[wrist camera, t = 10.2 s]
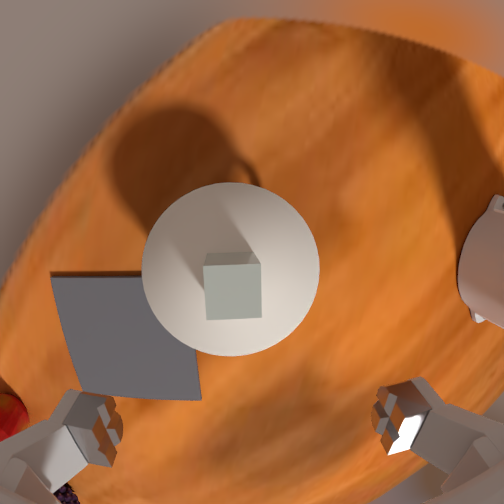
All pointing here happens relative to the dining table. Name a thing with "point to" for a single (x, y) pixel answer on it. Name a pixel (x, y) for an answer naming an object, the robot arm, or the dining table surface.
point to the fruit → (66, 495)
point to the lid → (230, 269)
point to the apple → (12, 416)
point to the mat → (122, 340)
